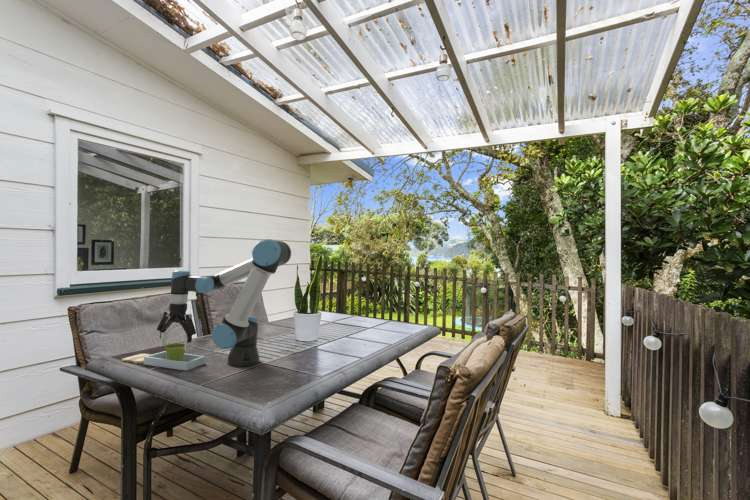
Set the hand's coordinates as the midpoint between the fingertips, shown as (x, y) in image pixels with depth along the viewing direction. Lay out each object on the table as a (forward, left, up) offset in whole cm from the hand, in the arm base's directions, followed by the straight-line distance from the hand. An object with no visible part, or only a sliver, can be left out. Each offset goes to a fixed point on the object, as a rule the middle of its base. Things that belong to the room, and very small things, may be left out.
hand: (175, 347), depth 175 cm
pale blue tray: (0, 0, -8) cm, 8 cm away
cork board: (+19, 0, -8) cm, 20 cm away
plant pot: (0, 0, -8) cm, 8 cm away
